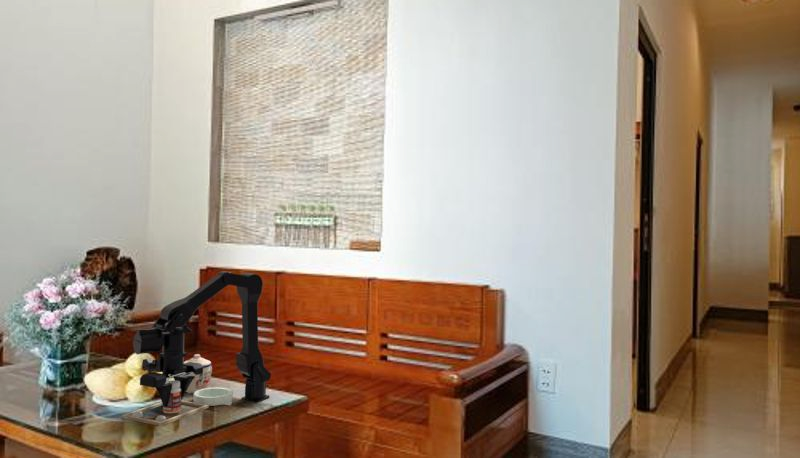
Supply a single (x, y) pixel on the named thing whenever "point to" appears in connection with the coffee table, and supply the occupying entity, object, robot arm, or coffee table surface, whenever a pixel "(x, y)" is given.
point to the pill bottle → (174, 398)
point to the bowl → (213, 396)
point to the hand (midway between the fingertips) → (172, 404)
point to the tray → (201, 407)
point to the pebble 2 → (160, 418)
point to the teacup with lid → (200, 375)
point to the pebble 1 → (137, 414)
